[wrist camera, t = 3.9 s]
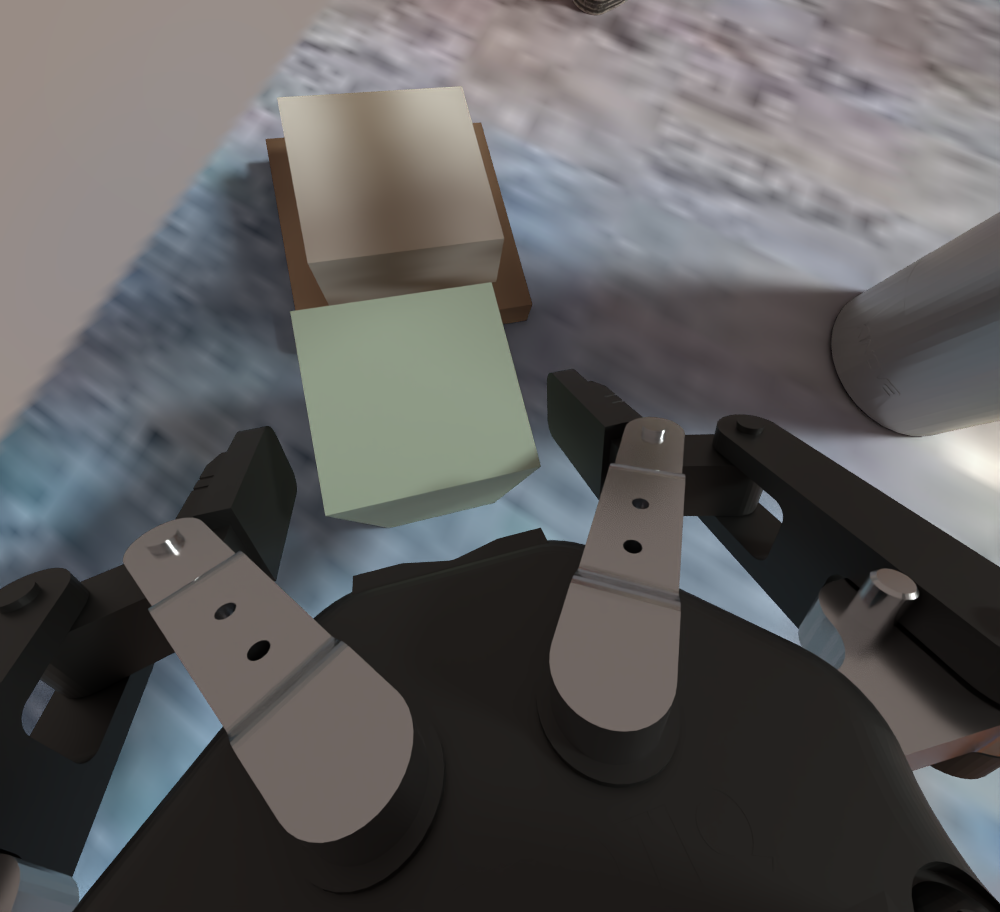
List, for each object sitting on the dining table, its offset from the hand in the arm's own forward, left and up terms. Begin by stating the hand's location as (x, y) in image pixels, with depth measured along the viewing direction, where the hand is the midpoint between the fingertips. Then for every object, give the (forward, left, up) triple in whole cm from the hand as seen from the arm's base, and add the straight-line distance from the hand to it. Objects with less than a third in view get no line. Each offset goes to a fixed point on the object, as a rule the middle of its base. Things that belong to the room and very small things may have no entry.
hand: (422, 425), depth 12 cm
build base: (-1, -12, -7) cm, 14 cm away
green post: (0, 0, -8) cm, 8 cm away
